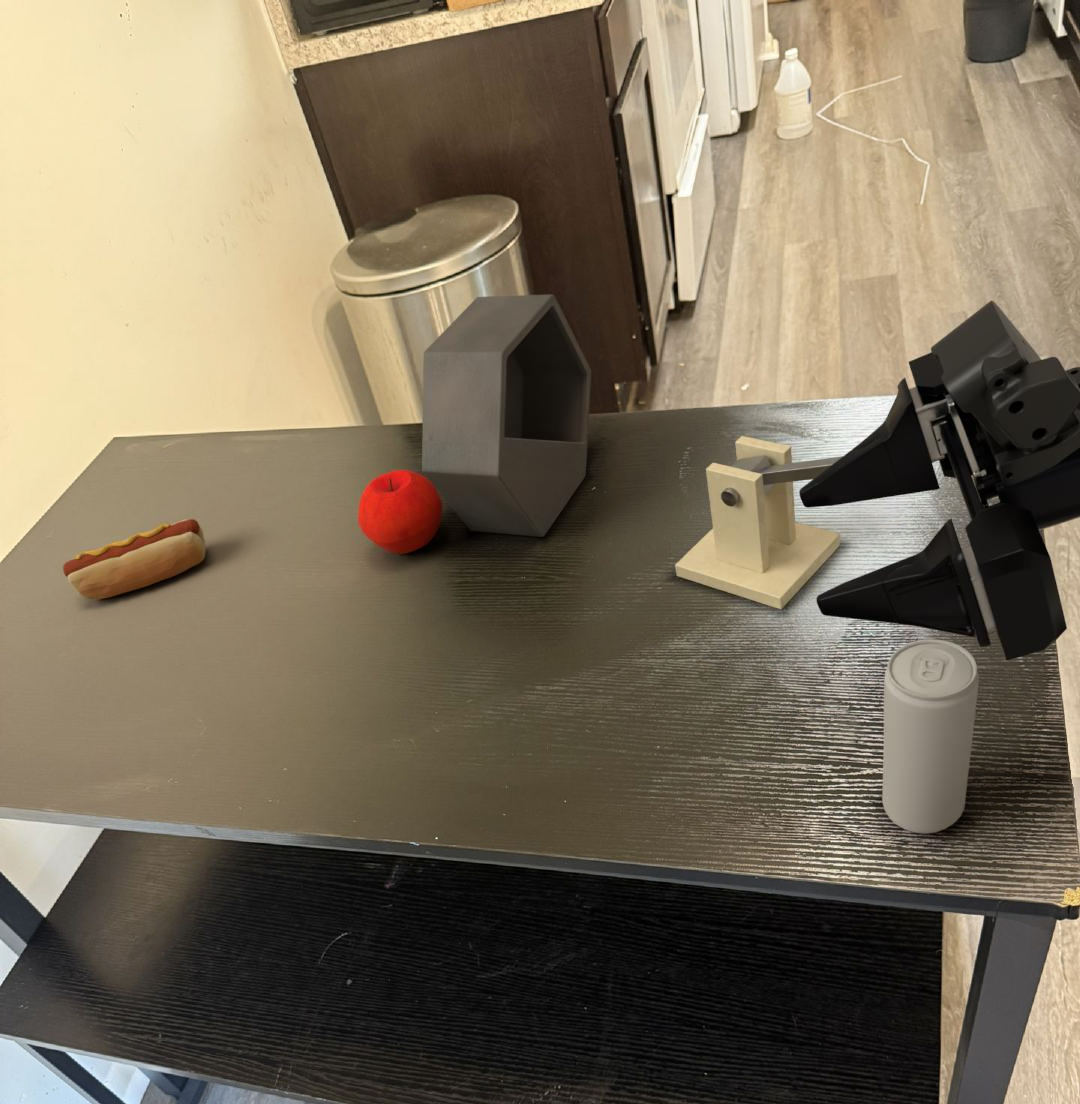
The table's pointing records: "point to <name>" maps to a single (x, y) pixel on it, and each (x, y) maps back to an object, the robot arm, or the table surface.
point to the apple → (400, 511)
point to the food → (137, 560)
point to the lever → (784, 469)
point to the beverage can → (928, 733)
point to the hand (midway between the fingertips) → (809, 549)
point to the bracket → (756, 534)
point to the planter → (506, 414)
